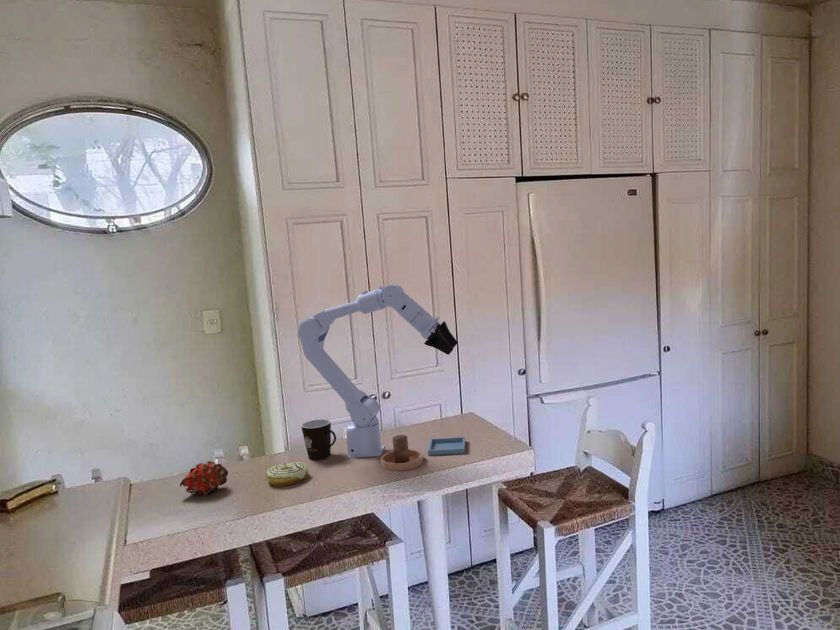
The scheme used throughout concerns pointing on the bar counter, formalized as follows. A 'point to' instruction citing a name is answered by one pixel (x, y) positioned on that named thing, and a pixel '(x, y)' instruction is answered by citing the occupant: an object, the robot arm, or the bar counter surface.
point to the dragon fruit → (205, 478)
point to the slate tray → (446, 446)
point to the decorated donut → (287, 473)
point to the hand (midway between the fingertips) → (453, 348)
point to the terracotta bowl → (414, 461)
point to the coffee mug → (318, 438)
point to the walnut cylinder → (400, 449)
